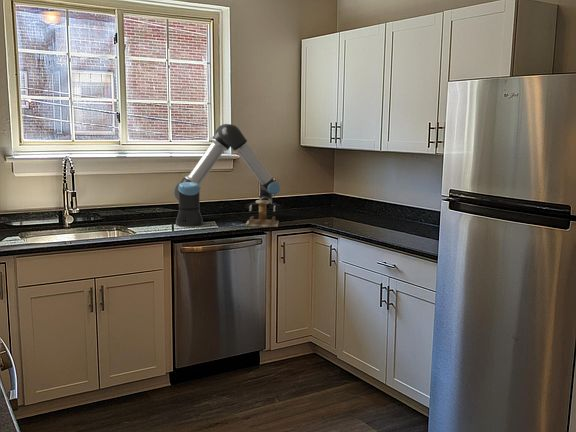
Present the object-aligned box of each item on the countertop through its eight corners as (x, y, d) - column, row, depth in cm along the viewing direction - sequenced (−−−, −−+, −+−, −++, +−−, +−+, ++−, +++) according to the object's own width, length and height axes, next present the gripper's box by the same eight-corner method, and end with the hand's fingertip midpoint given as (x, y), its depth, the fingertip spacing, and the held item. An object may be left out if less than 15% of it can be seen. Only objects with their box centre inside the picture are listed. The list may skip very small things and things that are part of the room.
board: (245, 226, 333) (245, 219, 333) (247, 222, 347) (247, 215, 347) (277, 226, 333) (277, 220, 332) (278, 222, 347) (278, 216, 346)
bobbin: (259, 224, 335) (259, 202, 333) (253, 221, 342) (253, 200, 340) (271, 223, 338) (272, 201, 336) (265, 220, 345) (265, 199, 343)
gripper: (285, 210, 357) (284, 216, 336) (243, 209, 357) (240, 215, 336) (285, 197, 355) (284, 202, 334) (243, 197, 356) (240, 202, 335)
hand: (262, 209), depth 335 cm, fingers open, 13 cm apart
